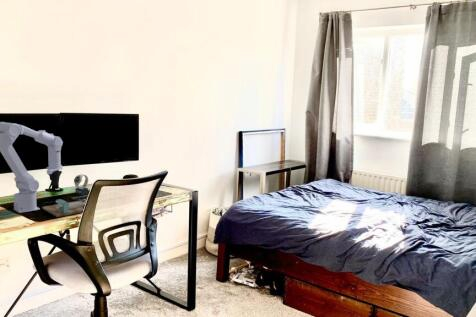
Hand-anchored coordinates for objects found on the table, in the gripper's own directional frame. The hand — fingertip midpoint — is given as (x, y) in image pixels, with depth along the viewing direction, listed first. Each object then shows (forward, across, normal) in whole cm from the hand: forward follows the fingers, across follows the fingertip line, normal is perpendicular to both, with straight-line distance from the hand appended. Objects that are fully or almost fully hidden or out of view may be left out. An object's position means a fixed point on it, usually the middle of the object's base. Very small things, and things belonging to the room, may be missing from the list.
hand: (55, 185), depth 215 cm
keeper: (+8, +17, +10) cm, 21 cm away
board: (+9, +10, +12) cm, 18 cm away
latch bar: (+8, +12, +13) cm, 19 cm away
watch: (+10, -20, +6) cm, 23 cm away
